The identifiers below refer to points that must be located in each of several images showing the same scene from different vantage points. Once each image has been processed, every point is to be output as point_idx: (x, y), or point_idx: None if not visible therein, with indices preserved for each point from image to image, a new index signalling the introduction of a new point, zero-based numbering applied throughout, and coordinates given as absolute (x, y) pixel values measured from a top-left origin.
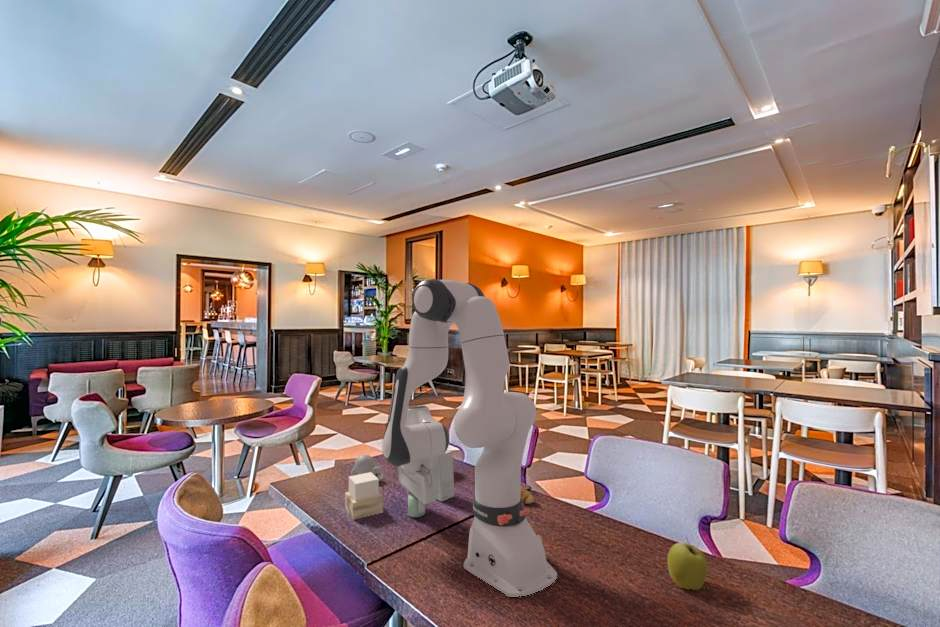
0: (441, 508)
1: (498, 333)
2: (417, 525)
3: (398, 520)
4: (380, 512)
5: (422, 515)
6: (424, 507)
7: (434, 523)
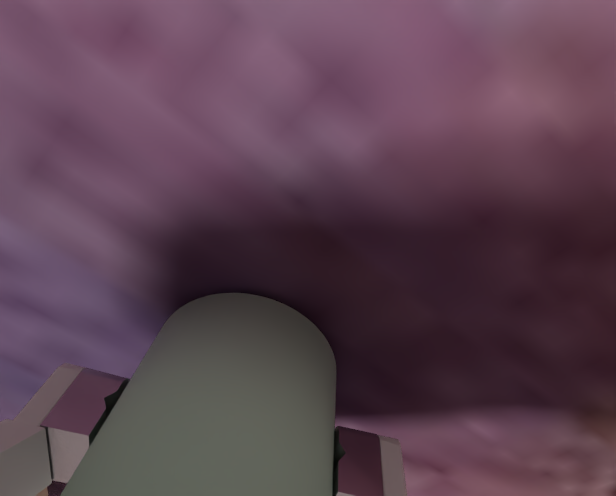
0: (323, 51)
1: None
2: (425, 454)
3: None
4: (42, 493)
5: (335, 367)
6: (403, 487)
7: (538, 361)
